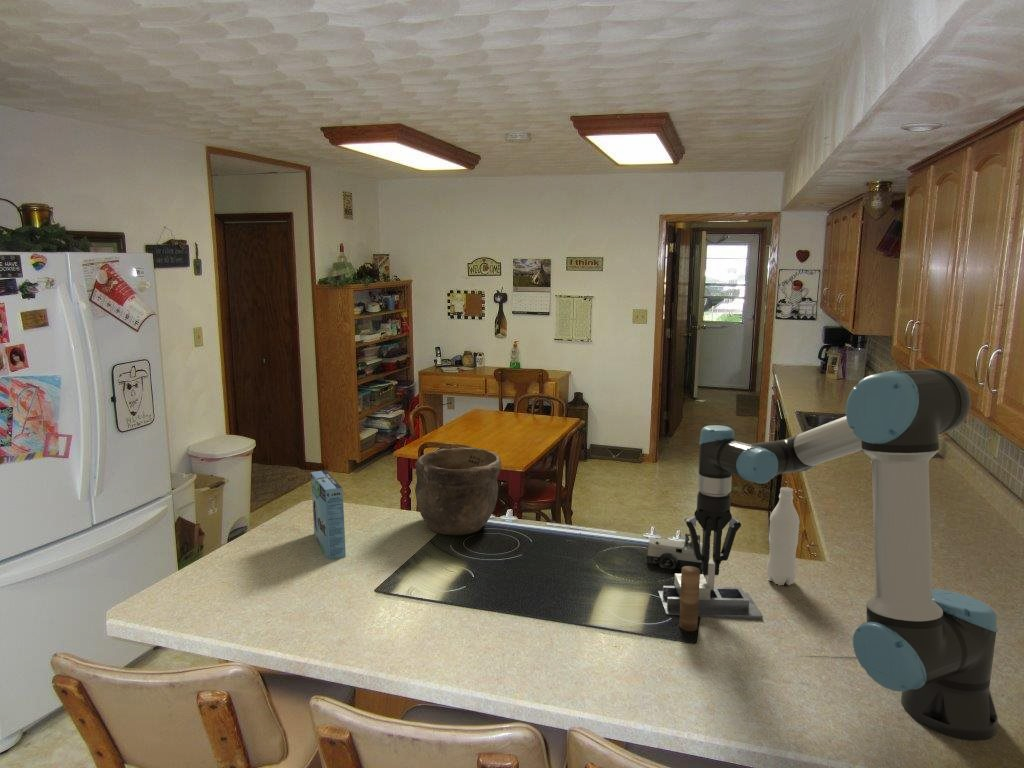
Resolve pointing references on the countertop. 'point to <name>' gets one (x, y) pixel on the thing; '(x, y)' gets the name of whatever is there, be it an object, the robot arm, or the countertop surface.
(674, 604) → the mount
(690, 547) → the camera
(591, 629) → the countertop surface
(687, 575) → the dowel peg
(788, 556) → the water bottle
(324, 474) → the blue carton box
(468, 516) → the clay pot
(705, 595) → the white rectangular block
